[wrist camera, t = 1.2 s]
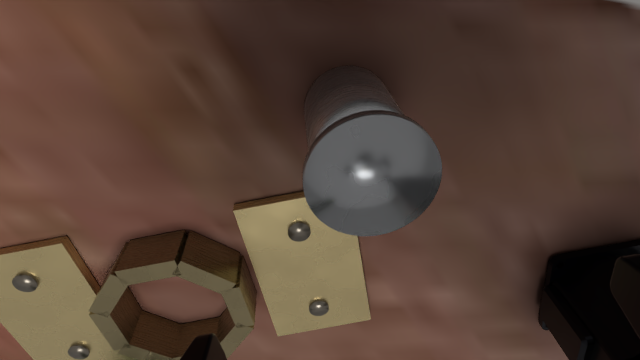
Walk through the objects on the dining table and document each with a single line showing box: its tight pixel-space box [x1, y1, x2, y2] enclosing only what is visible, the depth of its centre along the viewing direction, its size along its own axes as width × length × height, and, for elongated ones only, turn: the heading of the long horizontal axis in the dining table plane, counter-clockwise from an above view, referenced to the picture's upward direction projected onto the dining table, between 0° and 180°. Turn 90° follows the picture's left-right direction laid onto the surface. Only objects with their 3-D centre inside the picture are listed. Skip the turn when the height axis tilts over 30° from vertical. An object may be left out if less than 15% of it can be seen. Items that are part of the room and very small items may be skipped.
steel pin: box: [303, 66, 442, 236], centre depth 16 cm, size 5×5×6 cm
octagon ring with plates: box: [0, 191, 371, 360], centre depth 23 cm, size 21×10×2 cm, turn 100°
